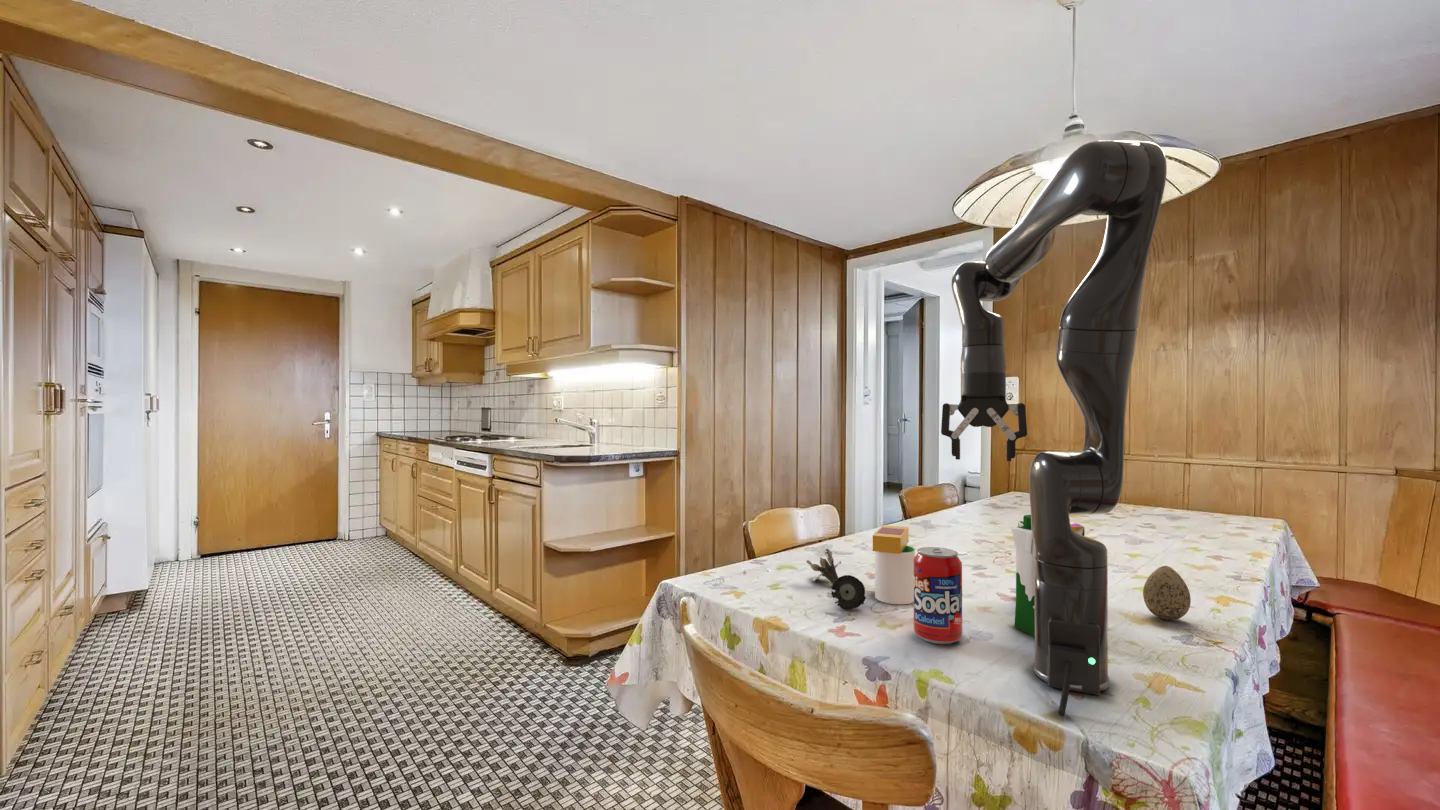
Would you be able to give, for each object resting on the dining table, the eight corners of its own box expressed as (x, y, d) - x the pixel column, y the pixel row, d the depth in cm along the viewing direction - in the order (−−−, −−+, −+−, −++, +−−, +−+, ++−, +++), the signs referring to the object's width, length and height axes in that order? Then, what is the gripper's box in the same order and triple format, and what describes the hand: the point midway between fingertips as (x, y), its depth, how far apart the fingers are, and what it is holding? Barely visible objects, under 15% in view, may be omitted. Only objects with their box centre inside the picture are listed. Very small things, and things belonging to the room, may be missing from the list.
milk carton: (1045, 621, 110) (1045, 513, 110) (1087, 639, 102) (1087, 522, 102) (1006, 625, 108) (1005, 515, 108) (1045, 644, 99) (1045, 525, 99)
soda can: (959, 632, 105) (959, 547, 105) (965, 649, 97) (964, 557, 97) (912, 627, 107) (912, 544, 107) (914, 644, 99) (914, 554, 99)
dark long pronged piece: (826, 617, 116) (811, 566, 117) (814, 595, 138) (802, 552, 140) (870, 605, 116) (855, 554, 117) (851, 584, 138) (839, 542, 139)
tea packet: (900, 553, 119) (900, 537, 119) (872, 551, 121) (872, 535, 121) (908, 541, 130) (908, 526, 130) (882, 539, 132) (882, 524, 132)
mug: (865, 586, 132) (865, 539, 132) (901, 586, 132) (901, 539, 132) (881, 604, 120) (881, 552, 120) (920, 604, 120) (920, 552, 120)
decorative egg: (1137, 611, 116) (1137, 560, 116) (1180, 615, 114) (1180, 562, 114) (1151, 623, 109) (1151, 569, 109) (1198, 628, 107) (1197, 572, 107)
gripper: (939, 371, 108) (939, 460, 108) (1027, 369, 102) (1027, 463, 102) (943, 373, 115) (943, 457, 115) (1025, 371, 109) (1026, 460, 109)
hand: (983, 460), depth 108 cm, fingers open, 8 cm apart
